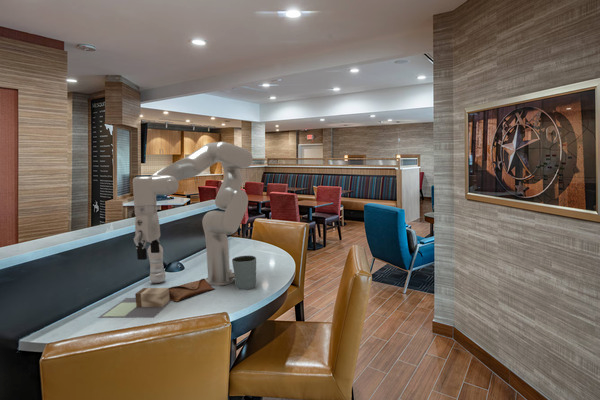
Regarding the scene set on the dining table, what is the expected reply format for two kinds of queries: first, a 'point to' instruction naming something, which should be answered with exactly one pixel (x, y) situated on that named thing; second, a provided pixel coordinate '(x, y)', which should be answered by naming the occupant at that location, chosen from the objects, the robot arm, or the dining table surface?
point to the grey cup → (244, 272)
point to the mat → (132, 310)
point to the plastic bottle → (156, 266)
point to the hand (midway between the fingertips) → (149, 255)
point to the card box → (152, 297)
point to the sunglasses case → (189, 290)
